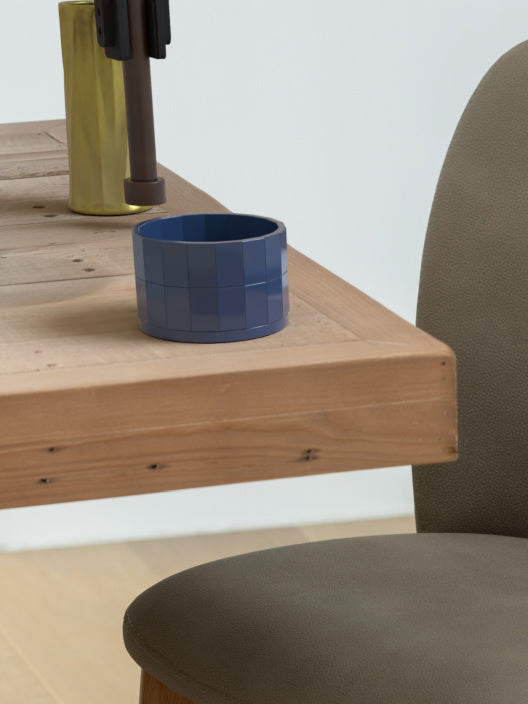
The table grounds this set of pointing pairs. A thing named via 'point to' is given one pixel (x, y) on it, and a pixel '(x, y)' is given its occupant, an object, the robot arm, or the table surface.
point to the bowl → (211, 276)
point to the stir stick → (140, 115)
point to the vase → (93, 116)
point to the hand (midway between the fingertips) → (135, 56)
